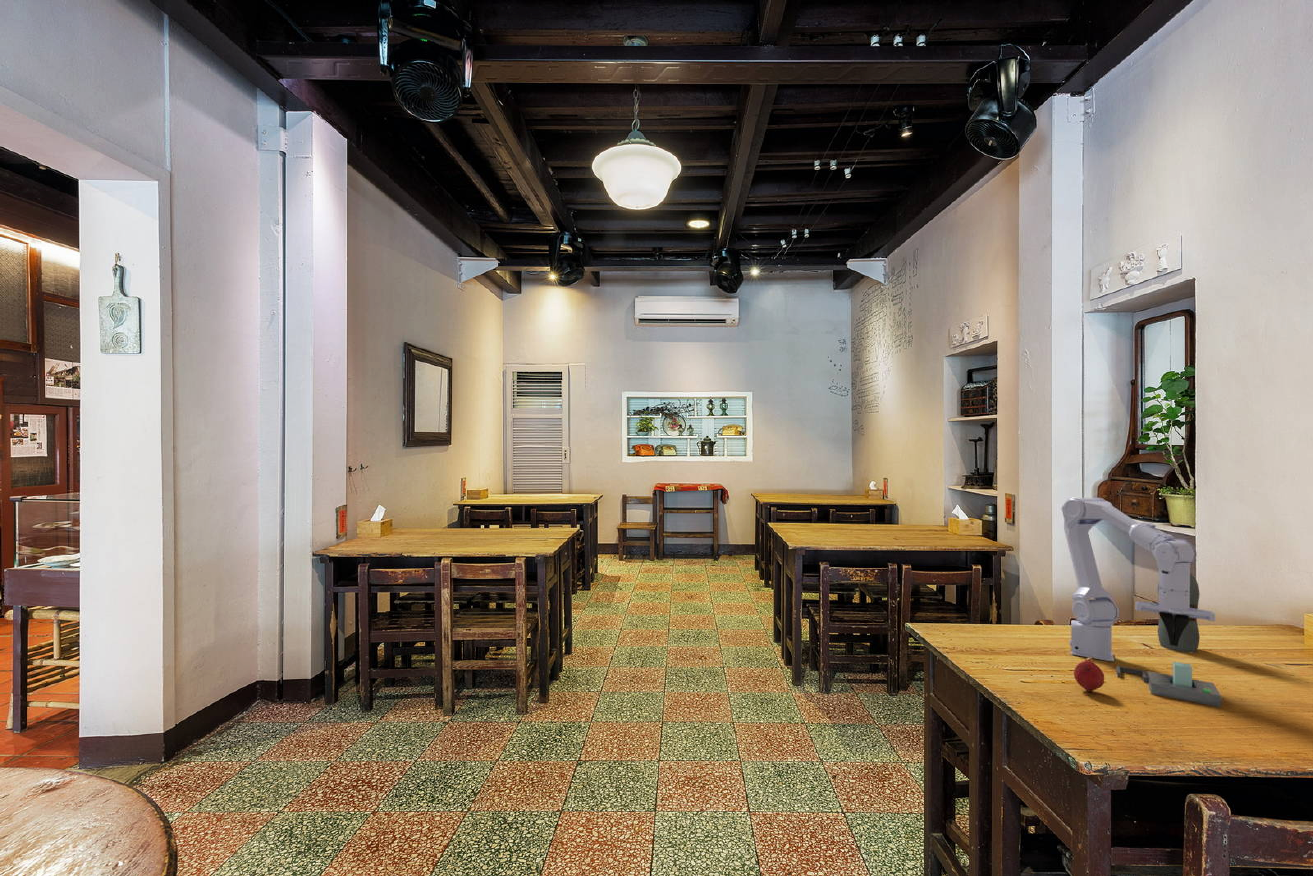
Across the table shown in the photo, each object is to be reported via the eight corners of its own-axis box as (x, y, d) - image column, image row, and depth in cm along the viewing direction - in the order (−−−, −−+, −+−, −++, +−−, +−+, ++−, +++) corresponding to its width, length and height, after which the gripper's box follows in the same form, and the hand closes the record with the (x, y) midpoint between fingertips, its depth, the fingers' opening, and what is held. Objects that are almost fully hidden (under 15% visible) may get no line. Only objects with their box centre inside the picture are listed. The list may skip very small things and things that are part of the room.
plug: (1174, 695, 138) (1174, 665, 138) (1173, 690, 140) (1172, 661, 140) (1191, 698, 136) (1191, 668, 136) (1189, 694, 138) (1189, 664, 138)
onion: (1095, 698, 135) (1095, 664, 135) (1068, 689, 140) (1068, 655, 140) (1109, 694, 138) (1109, 660, 138) (1082, 685, 143) (1082, 652, 143)
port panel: (1151, 693, 138) (1151, 680, 138) (1147, 681, 145) (1147, 669, 145) (1221, 707, 131) (1220, 693, 131) (1213, 694, 138) (1213, 680, 138)
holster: (1117, 677, 148) (1117, 672, 148) (1116, 670, 153) (1116, 665, 153) (1146, 682, 145) (1146, 677, 145) (1144, 675, 149) (1144, 670, 149)
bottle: (1183, 654, 165) (1183, 548, 166) (1149, 643, 174) (1149, 543, 175) (1208, 652, 167) (1208, 547, 168) (1173, 641, 176) (1173, 542, 177)
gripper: (1137, 587, 145) (1136, 642, 145) (1217, 597, 136) (1217, 655, 136) (1135, 582, 150) (1134, 635, 150) (1212, 591, 142) (1211, 647, 142)
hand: (1173, 644), depth 143 cm, fingers closed
